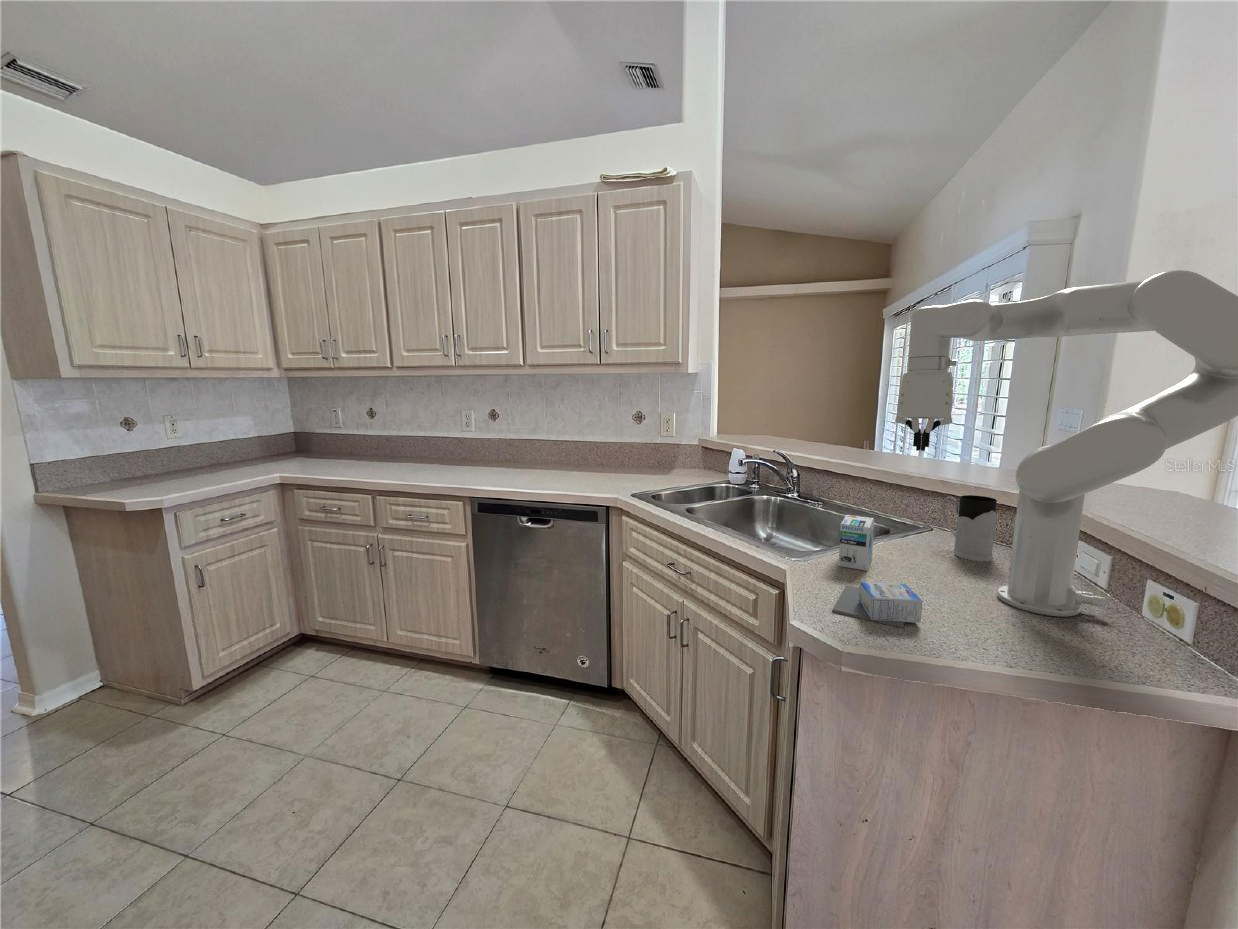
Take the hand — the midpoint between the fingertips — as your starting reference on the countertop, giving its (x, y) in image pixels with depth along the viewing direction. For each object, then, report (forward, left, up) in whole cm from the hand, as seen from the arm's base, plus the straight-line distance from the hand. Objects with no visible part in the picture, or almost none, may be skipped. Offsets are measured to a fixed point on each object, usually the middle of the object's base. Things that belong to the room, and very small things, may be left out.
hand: (920, 450), depth 109 cm
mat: (+5, +23, -29) cm, 37 cm away
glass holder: (-10, -25, -29) cm, 40 cm away
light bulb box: (+12, -2, -29) cm, 32 cm away
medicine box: (-2, +24, -26) cm, 35 cm away
